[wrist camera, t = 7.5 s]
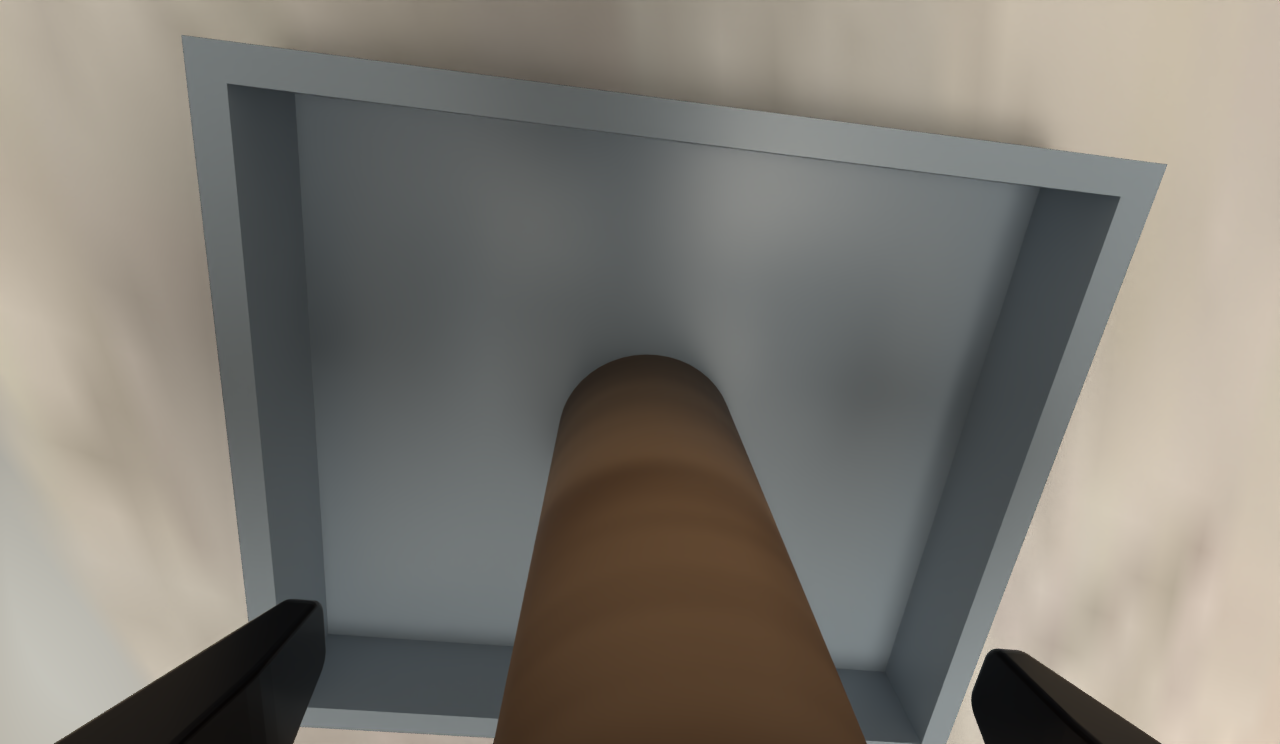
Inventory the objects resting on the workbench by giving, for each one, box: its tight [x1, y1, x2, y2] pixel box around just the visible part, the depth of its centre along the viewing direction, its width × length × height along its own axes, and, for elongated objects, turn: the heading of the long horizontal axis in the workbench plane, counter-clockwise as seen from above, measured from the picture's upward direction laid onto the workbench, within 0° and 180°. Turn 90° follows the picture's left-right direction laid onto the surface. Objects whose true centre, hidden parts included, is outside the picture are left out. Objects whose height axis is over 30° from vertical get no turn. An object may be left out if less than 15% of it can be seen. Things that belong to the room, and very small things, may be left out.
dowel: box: [493, 355, 867, 744], centre depth 10 cm, size 4×4×10 cm
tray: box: [182, 35, 1167, 744], centre depth 14 cm, size 14×16×3 cm
